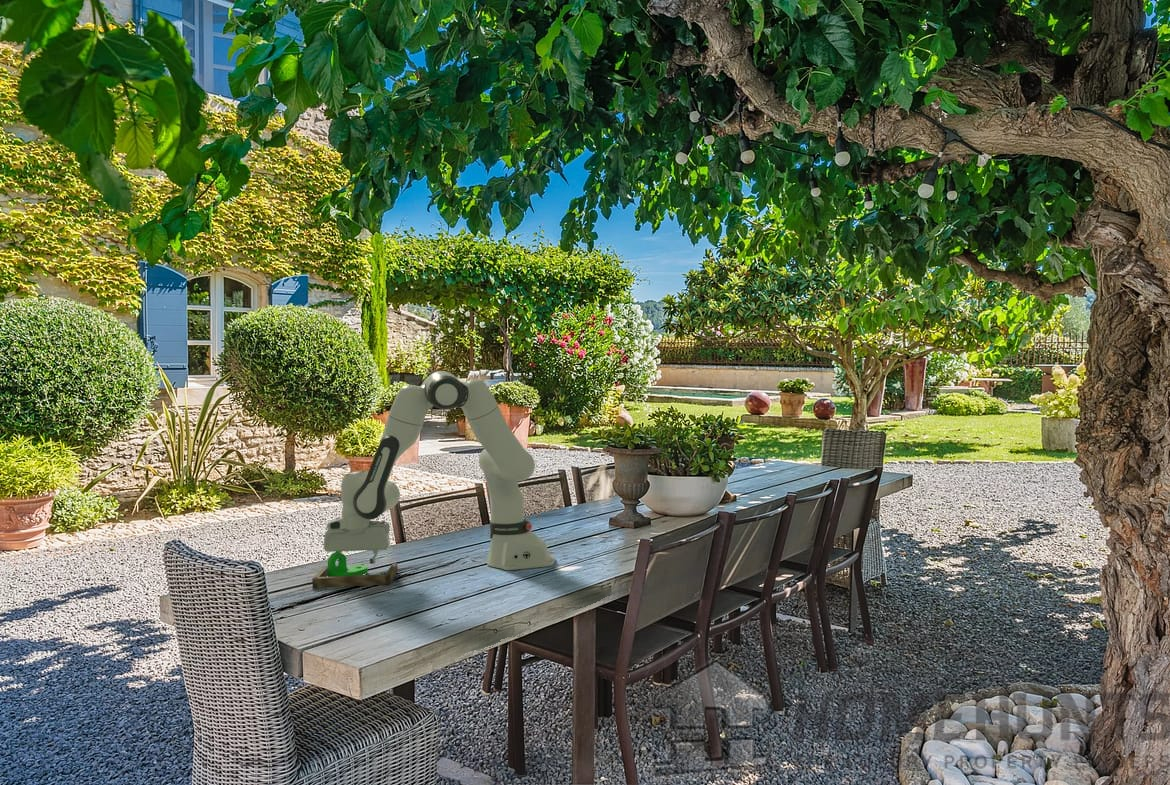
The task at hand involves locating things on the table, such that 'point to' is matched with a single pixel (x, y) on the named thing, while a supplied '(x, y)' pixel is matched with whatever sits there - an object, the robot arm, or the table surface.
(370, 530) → the robot arm
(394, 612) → the table surface
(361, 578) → the walnut bay
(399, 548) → the table surface
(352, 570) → the mechanical part
